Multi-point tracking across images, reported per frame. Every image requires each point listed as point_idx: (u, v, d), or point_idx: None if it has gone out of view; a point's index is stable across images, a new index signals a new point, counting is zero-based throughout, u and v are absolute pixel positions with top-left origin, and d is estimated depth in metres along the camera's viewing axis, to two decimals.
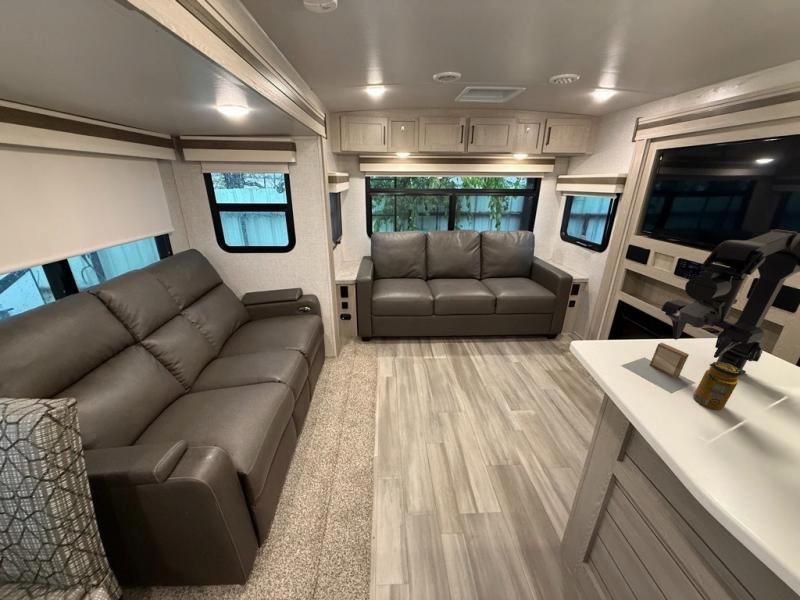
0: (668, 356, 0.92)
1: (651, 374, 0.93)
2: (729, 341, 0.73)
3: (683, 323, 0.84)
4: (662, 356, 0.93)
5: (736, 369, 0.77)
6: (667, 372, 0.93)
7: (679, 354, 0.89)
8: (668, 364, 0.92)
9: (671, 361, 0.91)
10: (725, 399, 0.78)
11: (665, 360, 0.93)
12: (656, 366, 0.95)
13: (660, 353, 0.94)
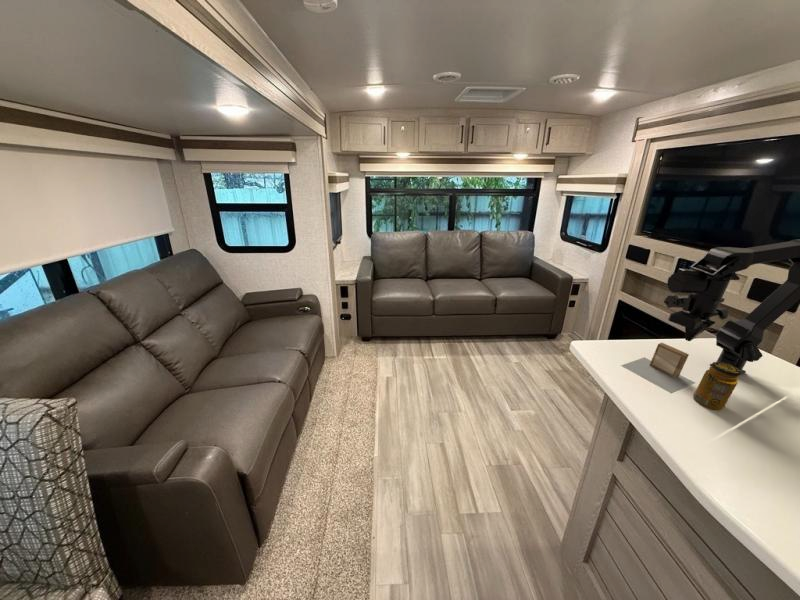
0: (668, 356, 0.92)
1: (651, 374, 0.93)
2: None
3: None
4: (662, 356, 0.93)
5: (736, 369, 0.77)
6: (667, 372, 0.93)
7: (679, 354, 0.89)
8: (668, 364, 0.92)
9: (671, 361, 0.91)
10: (725, 399, 0.78)
11: (665, 360, 0.93)
12: (656, 366, 0.95)
13: (660, 353, 0.94)
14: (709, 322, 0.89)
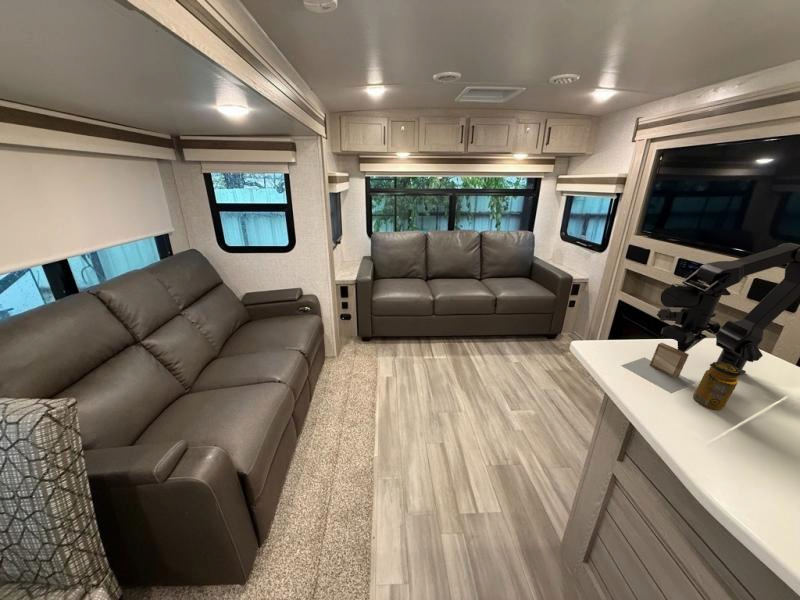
0: (668, 356, 0.92)
1: (651, 374, 0.93)
2: None
3: None
4: (662, 356, 0.93)
5: (736, 369, 0.77)
6: (667, 372, 0.93)
7: (679, 354, 0.89)
8: (668, 364, 0.92)
9: (671, 361, 0.91)
10: (725, 399, 0.78)
11: (665, 360, 0.93)
12: (656, 366, 0.95)
13: (660, 353, 0.94)
14: (701, 336, 0.91)
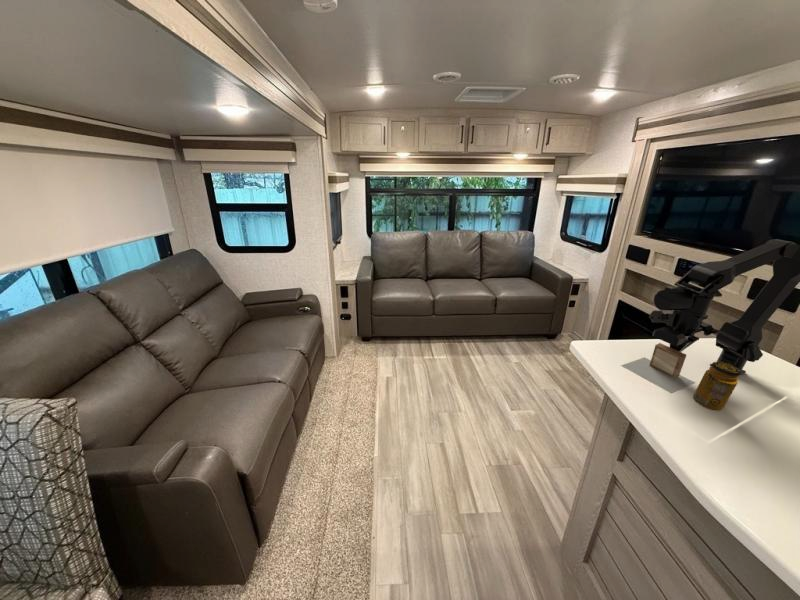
0: (666, 357, 0.92)
1: (651, 374, 0.93)
2: None
3: None
4: (660, 357, 0.93)
5: (736, 369, 0.77)
6: (667, 372, 0.93)
7: (676, 355, 0.89)
8: (667, 365, 0.92)
9: (669, 362, 0.91)
10: (725, 399, 0.78)
11: (664, 361, 0.93)
12: (656, 366, 0.95)
13: (658, 354, 0.93)
14: (693, 338, 0.89)
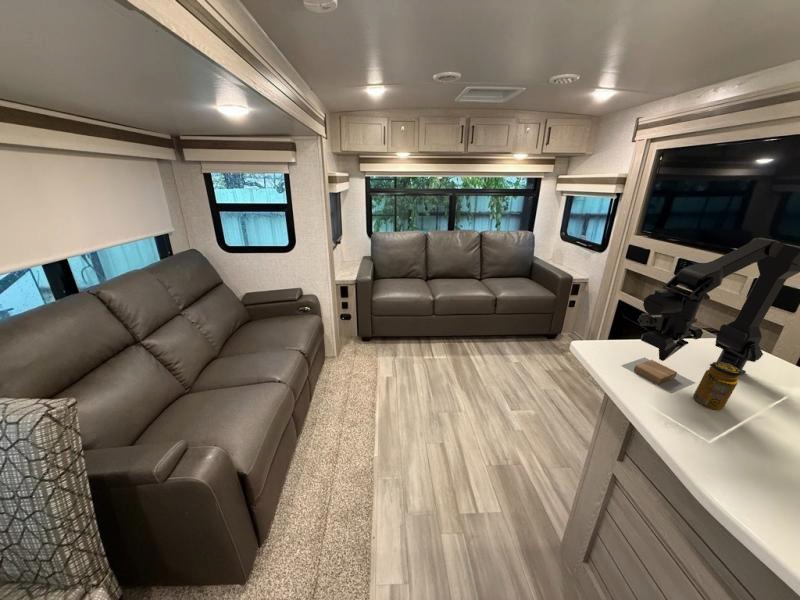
0: None
1: None
2: None
3: None
4: None
5: (736, 369, 0.77)
6: None
7: (654, 381, 0.90)
8: None
9: None
10: (725, 399, 0.78)
11: None
12: None
13: None
14: (682, 342, 0.87)
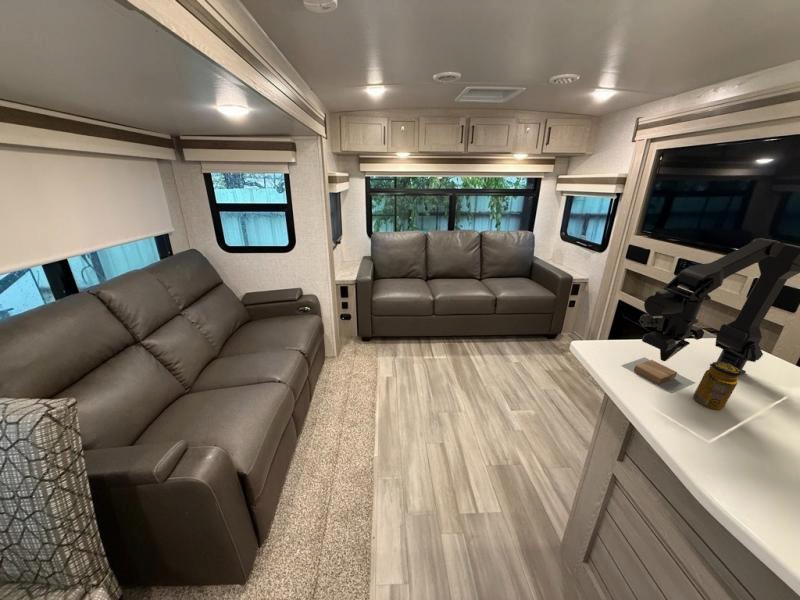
0: None
1: None
2: None
3: None
4: None
5: (736, 369, 0.77)
6: None
7: (654, 381, 0.90)
8: None
9: None
10: (725, 399, 0.78)
11: None
12: None
13: None
14: (683, 343, 0.87)
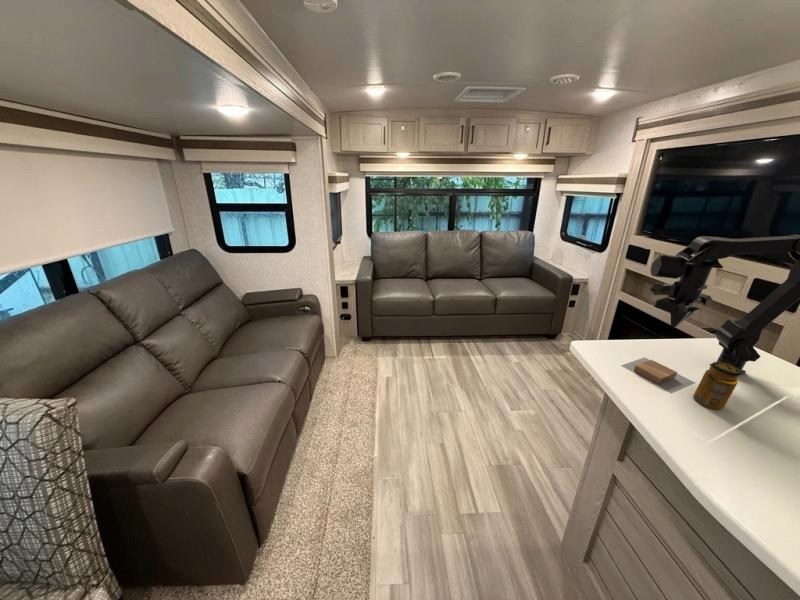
0: None
1: None
2: None
3: None
4: None
5: (736, 369, 0.77)
6: None
7: (654, 381, 0.90)
8: None
9: None
10: (725, 399, 0.78)
11: None
12: None
13: None
14: (693, 308, 0.93)
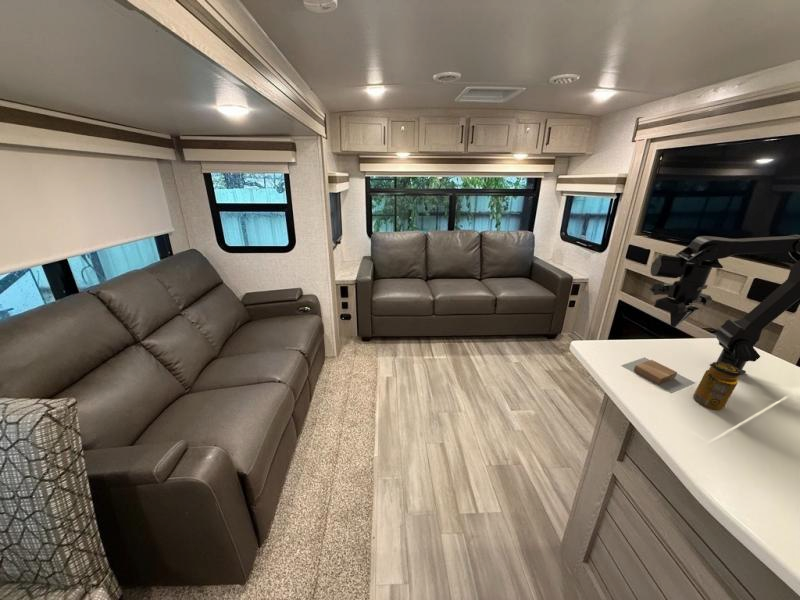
0: None
1: None
2: None
3: None
4: None
5: (736, 369, 0.77)
6: None
7: (654, 381, 0.90)
8: None
9: None
10: (725, 399, 0.78)
11: None
12: None
13: None
14: (693, 308, 0.93)
